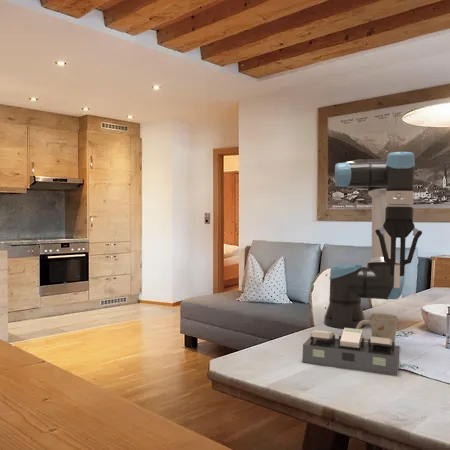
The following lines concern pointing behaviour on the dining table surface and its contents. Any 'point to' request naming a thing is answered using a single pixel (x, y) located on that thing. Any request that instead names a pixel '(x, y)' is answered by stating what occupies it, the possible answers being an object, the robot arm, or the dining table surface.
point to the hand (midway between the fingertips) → (396, 286)
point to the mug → (381, 326)
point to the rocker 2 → (351, 337)
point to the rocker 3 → (381, 340)
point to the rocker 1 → (322, 334)
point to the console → (352, 355)
